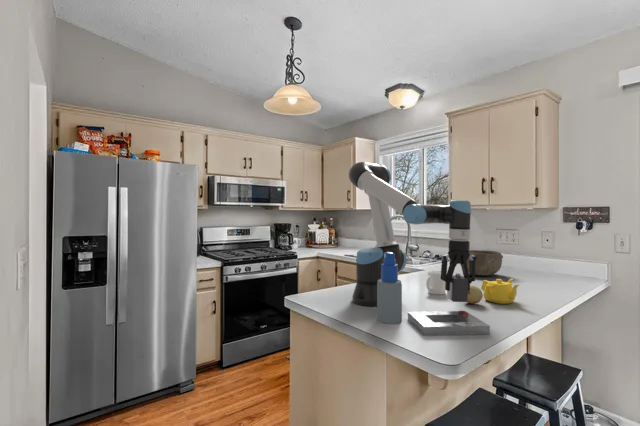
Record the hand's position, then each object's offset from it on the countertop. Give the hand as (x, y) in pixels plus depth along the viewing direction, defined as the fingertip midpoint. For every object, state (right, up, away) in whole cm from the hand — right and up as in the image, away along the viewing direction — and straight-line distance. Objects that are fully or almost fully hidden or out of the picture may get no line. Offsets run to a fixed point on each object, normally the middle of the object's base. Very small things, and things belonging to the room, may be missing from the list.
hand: (457, 298), depth 130 cm
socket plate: (-10, -6, -14) cm, 18 cm away
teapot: (+27, -6, +18) cm, 33 cm away
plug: (0, 0, 0) cm, 0 cm away
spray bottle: (-28, -6, -7) cm, 30 cm away
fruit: (+13, -6, +14) cm, 20 cm away
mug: (+2, -6, +33) cm, 33 cm away
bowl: (+48, -6, +80) cm, 93 cm away
